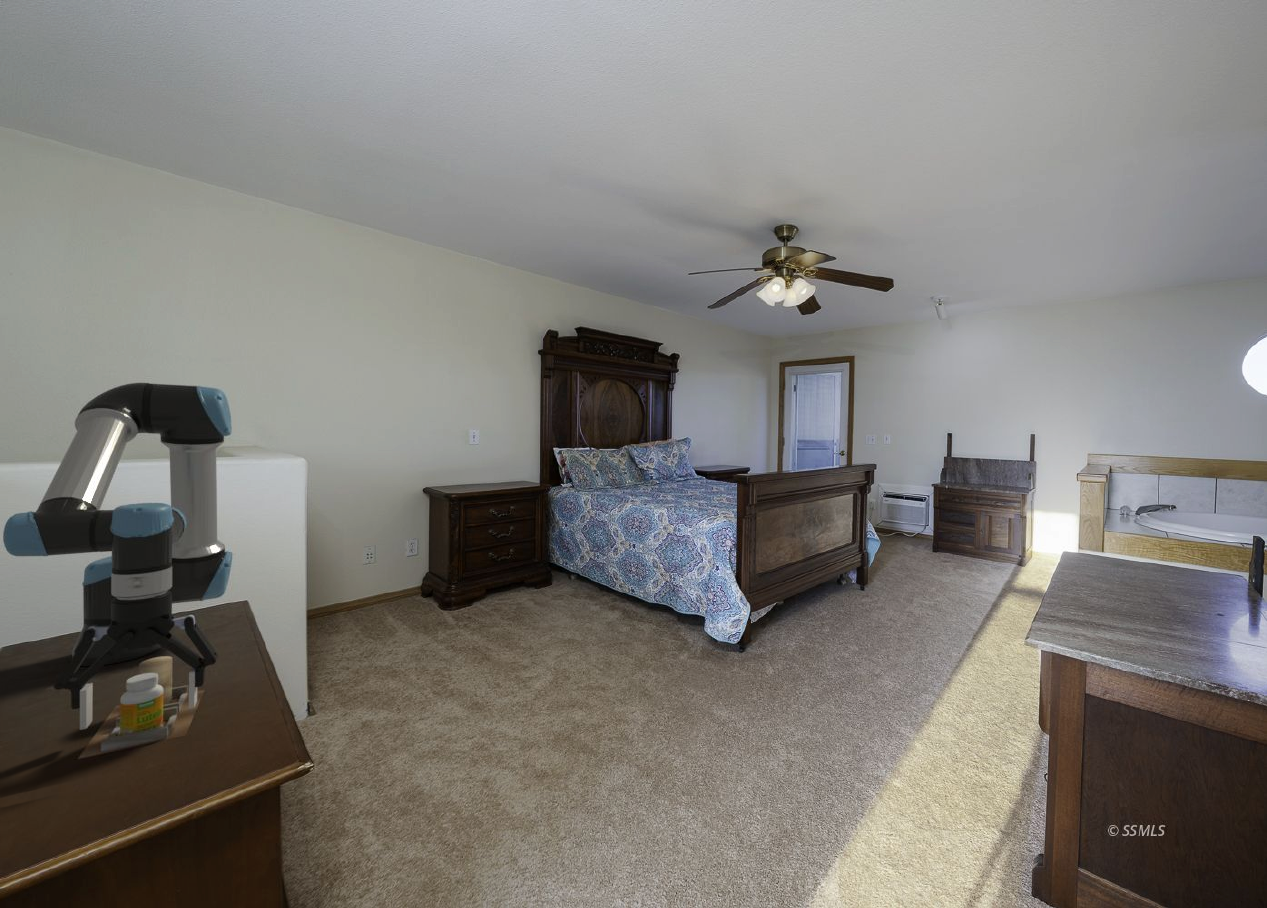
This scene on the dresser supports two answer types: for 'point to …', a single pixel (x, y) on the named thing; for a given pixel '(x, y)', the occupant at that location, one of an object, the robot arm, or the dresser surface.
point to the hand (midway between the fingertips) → (141, 714)
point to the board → (173, 726)
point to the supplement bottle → (141, 704)
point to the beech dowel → (160, 674)
